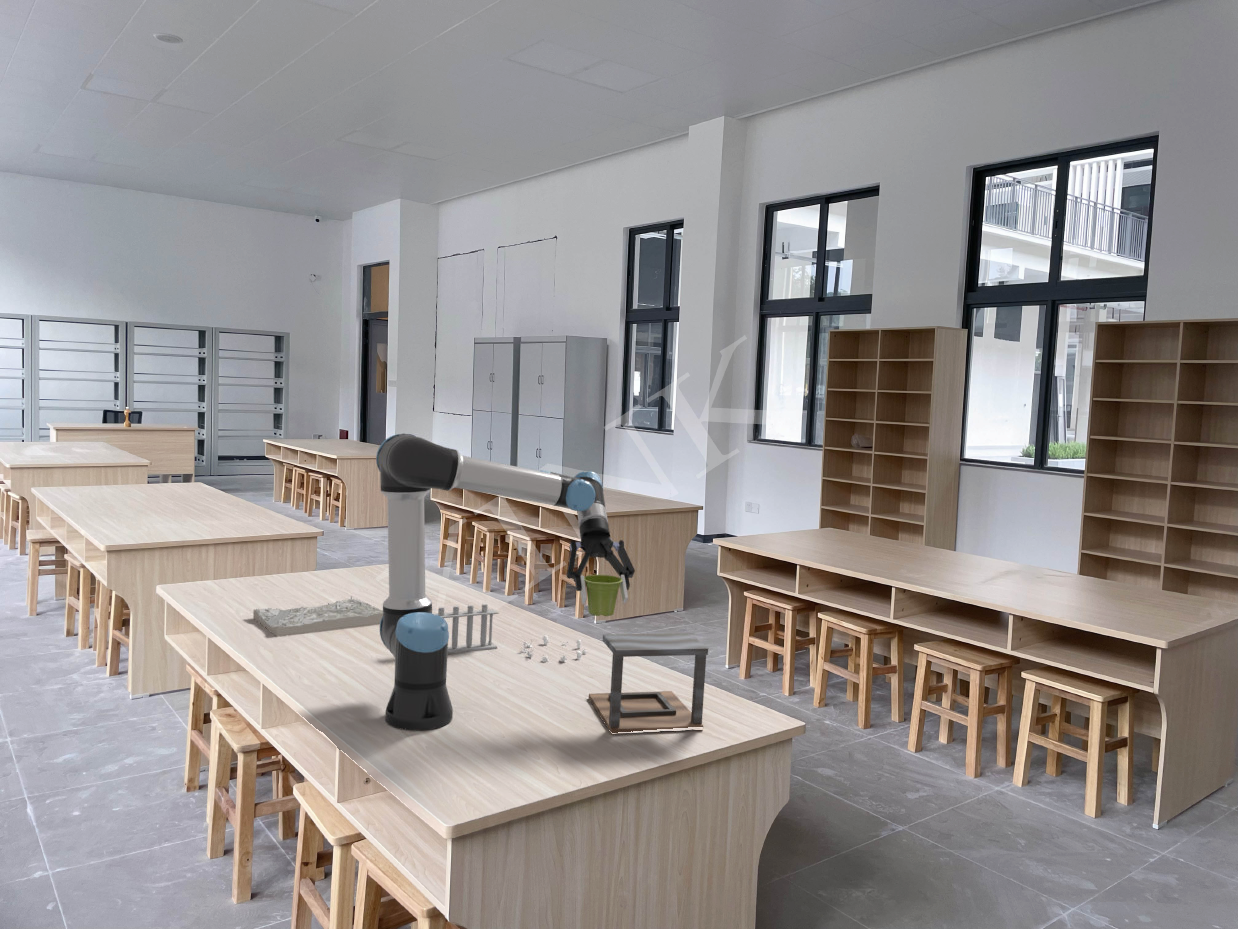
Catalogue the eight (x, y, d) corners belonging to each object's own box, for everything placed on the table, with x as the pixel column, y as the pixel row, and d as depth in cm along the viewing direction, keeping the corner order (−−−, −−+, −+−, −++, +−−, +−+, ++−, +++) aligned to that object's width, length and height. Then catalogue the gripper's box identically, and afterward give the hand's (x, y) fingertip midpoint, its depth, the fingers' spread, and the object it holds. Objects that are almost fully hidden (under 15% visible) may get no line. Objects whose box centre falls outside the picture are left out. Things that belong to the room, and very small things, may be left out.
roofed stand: (588, 698, 224) (592, 622, 222) (671, 695, 229) (675, 621, 228) (611, 734, 201) (616, 650, 199) (703, 730, 206) (708, 648, 205)
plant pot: (599, 606, 222) (601, 572, 222) (628, 614, 216) (630, 579, 216) (574, 613, 215) (575, 578, 215) (603, 621, 209) (604, 585, 209)
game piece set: (521, 643, 270) (522, 631, 270) (586, 646, 272) (587, 633, 272) (519, 663, 251) (520, 649, 251) (589, 665, 253) (590, 651, 253)
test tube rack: (414, 657, 250) (416, 611, 249) (409, 653, 254) (411, 607, 253) (497, 649, 263) (499, 605, 262) (491, 645, 266) (493, 601, 265)
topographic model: (385, 625, 283) (386, 609, 283) (276, 638, 262) (277, 622, 262) (357, 609, 302) (357, 594, 301) (253, 620, 280) (253, 605, 280)
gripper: (632, 533, 232) (645, 608, 218) (548, 533, 227) (557, 610, 213) (638, 516, 226) (652, 592, 212) (553, 516, 221) (562, 593, 207)
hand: (605, 601), depth 213 cm, fingers closed on plant pot, 9 cm apart
